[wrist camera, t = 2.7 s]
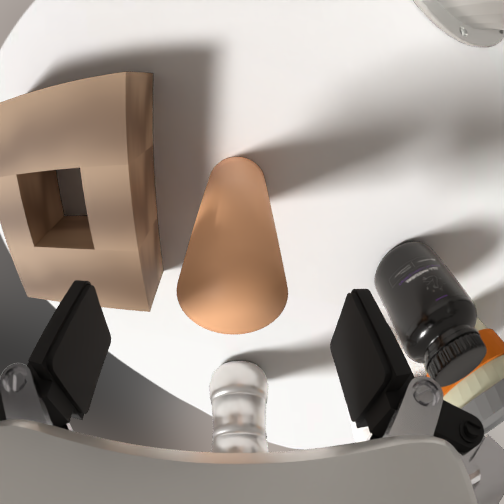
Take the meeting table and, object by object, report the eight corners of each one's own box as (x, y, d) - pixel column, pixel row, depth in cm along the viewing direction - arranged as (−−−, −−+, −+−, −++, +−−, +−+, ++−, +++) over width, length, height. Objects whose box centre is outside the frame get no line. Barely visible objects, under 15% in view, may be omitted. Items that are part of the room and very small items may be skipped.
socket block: (21, 98, 15) (-19, 110, 11) (153, 73, 16) (125, 71, 12) (52, 263, 24) (27, 296, 20) (163, 271, 24) (149, 311, 20)
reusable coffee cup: (478, 333, 33) (519, 410, 20) (410, 372, 36) (441, 458, 23) (484, 279, 27) (548, 370, 14) (401, 327, 30) (448, 439, 17)
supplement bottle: (404, 226, 23) (482, 324, 13) (443, 256, 25) (508, 343, 15) (357, 283, 26) (404, 392, 16) (400, 304, 28) (446, 398, 18)
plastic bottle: (198, 367, 32) (186, 533, 15) (242, 345, 30) (246, 536, 13) (235, 389, 35) (237, 536, 18) (278, 369, 33) (294, 533, 16)
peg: (209, 155, 19) (172, 247, 9) (267, 158, 20) (295, 252, 10) (208, 208, 21) (181, 331, 11) (262, 210, 22) (280, 335, 12)
